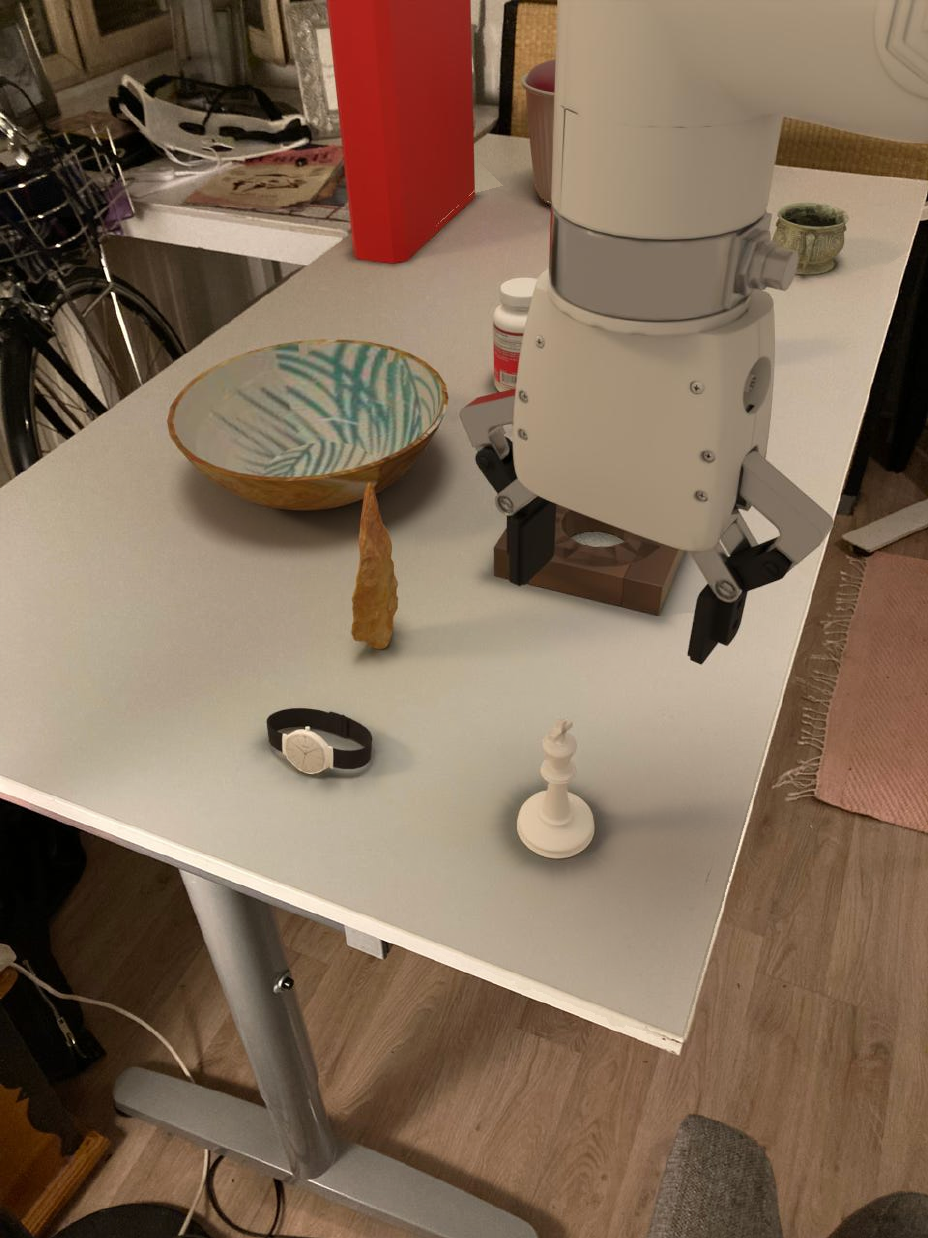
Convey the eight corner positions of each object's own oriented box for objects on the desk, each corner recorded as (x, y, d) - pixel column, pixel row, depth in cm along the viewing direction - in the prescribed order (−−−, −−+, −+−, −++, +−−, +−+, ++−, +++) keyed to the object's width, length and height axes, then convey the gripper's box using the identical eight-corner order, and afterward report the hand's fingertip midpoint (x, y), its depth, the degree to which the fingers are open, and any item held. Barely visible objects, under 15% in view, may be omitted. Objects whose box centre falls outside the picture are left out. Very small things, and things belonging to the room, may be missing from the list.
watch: (256, 761, 67) (247, 726, 64) (289, 713, 70) (282, 678, 68) (358, 791, 65) (352, 756, 62) (387, 740, 68) (382, 705, 66)
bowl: (164, 443, 98) (144, 371, 93) (397, 389, 105) (392, 318, 100) (219, 589, 81) (199, 510, 75) (494, 512, 88) (494, 435, 82)
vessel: (770, 243, 132) (779, 195, 128) (838, 248, 130) (849, 199, 126) (766, 278, 124) (775, 228, 119) (839, 284, 122) (850, 233, 117)
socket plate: (693, 530, 85) (698, 502, 83) (658, 615, 77) (662, 586, 75) (542, 498, 89) (542, 470, 87) (493, 575, 81) (493, 547, 79)
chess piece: (500, 828, 62) (500, 723, 55) (549, 782, 65) (554, 677, 58) (561, 873, 60) (568, 768, 53) (610, 823, 62) (622, 717, 55)
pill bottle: (542, 369, 108) (544, 270, 100) (558, 395, 103) (562, 294, 96) (487, 376, 107) (486, 277, 99) (501, 403, 102) (500, 302, 95)
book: (427, 191, 152) (413, -57, 130) (475, 196, 149) (469, -56, 128) (349, 257, 133) (318, -20, 111) (402, 264, 130) (381, -18, 109)
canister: (652, 184, 151) (667, 28, 137) (623, 226, 138) (637, 59, 124) (540, 174, 156) (543, 23, 142) (503, 213, 144) (503, 51, 129)
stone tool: (380, 671, 73) (360, 507, 63) (352, 663, 74) (328, 500, 64) (407, 628, 77) (393, 466, 67) (380, 621, 77) (362, 460, 67)
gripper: (925, 269, 34) (819, 631, 45) (512, 183, 42) (510, 510, 53) (849, 354, 29) (752, 731, 41) (403, 239, 37) (427, 583, 49)
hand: (616, 606), depth 47 cm, fingers open, 9 cm apart
